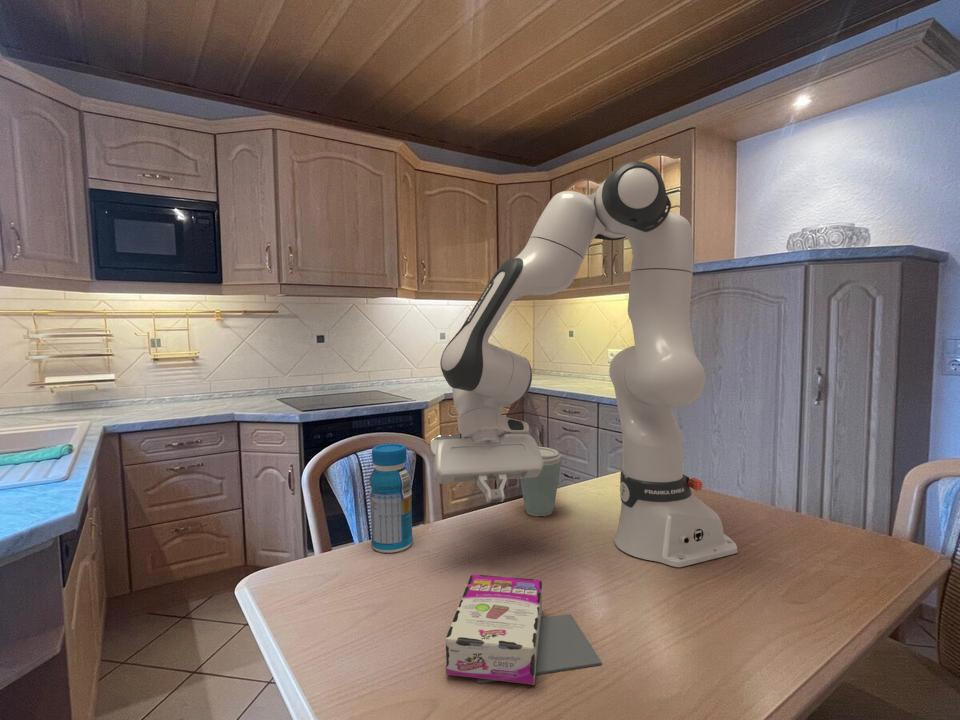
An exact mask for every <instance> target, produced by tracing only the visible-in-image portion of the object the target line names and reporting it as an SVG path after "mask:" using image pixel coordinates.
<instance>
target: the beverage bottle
mask: <svg viewBox="0 0 960 720" xmlns="http://www.w3.org/2000/svg"><path fill="white" fill-rule="evenodd" d="M407 456H408V455H407V447H406V445H404V444H401V443H384V444H383V443H382V444H378V445H375V446H373V448H372V449H371V460H372V465H373V466H374V468H373V470H372V472H371V475H370V477H369V480H368V481H369V482H368V484H369V486H370V489H369V493H368V499H369V505H370V528H371V530H370V531H371V532H370V533H371V546H372V549H373V550H375V551H377V552H380V553H382V554H383V553H385V554H390V553H398V552H402V551H404V550H406V549H408V548H409V547H411V545H413V540H414V538H413V517H412V516H413V513H412V512H413V511H412V510H413V509H412V497H413V490H412V488H411V486H410V483H411V482H412V479H411V478H412V477H411V475H410V471H409V470H408V468H407V467H406V466H405V464H406V463H407Z"/></svg>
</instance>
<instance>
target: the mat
mask: <svg viewBox="0 0 960 720" xmlns="http://www.w3.org/2000/svg"><path fill="white" fill-rule="evenodd" d="M602 665H603V662H602V660H601V659H600V656H598V653H597V652H596V651H595V649H594V648H593V646H592V645H591V643H590V642H589V640H588V638H587V636H586V635H585V634H584V632H583V630H582V629H581V628H580V626H579V624H578V623H577V622H576V619H575V618H574V617H573V615H572V614H571V613H567V614H561V615H560V614H559V615H552V616H546V617H545V616H543V617H541V623H540V632H539V642H538V652H537V661H536V672H535V676H537V675H543V674H544V675H545V674H550V673H556V672H564V671H570V670H576V669H577V670H578V669H583V668H590V667H596V666H602ZM476 680H477V684H485V683H491V682H498V680H490V679H481V678H476Z"/></svg>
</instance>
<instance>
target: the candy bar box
mask: <svg viewBox="0 0 960 720" xmlns="http://www.w3.org/2000/svg"><path fill="white" fill-rule="evenodd" d="M542 606H543V581H542V579H535V578H534V579H533V578H521V577H509V576H495V575H484V574H474V573H473V574H472V573H471V574H470V577H469V579H468V582H467V585H466V586H465V589H464V591H463V594H462V595H461V599H460V601H459V605H458V606H457V609H456V612H455V613H454V617H453V619H452V622H451V624H450V626H449V627H450V628H449V629H448V630H447V631H448V632H447V634H446V637H445V652H446V653H445V659H446V660H445V661H446V662H445V664H446V665H445V673H446V676H447V675H448V676H455V677H464V678H465V677H466V678H474V679H477V678H481V679H490V680H498V681H500V682H508V683H516V684H517V683H518V684H525V685H532V686H533V685H535V681H536V675H535V672H536V661H537V652H538V642H539V632H540V623H541V618H542V611H543V610H542ZM498 681H497V682H498Z"/></svg>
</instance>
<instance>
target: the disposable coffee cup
mask: <svg viewBox="0 0 960 720" xmlns="http://www.w3.org/2000/svg"><path fill="white" fill-rule="evenodd" d="M538 448H539V450H540V453H541V456H542V459H543V464H544V465H543V469H542V471H541V472H540V474H539V475H538V476H537V477H535V478H519V480H520V486H521V493H522V501H523V506H524V509H525V511H526V514H527V515H530V516H531V517H532V516H533V517H537V516H538V517H539V516H544V517H548V516H551V515H552V513H553V511H554V510H555V503H556V497H557V490H558V485H559V484H558V483H559V476H560V471H561V464H562V461H563V459H562V457H563V456H562V455H561V453H560V452H559V451H558V450H557V449H553V448H551V447H545V446H538ZM550 514H551V515H550ZM547 515H548V516H547ZM539 518H540V517H539Z"/></svg>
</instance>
